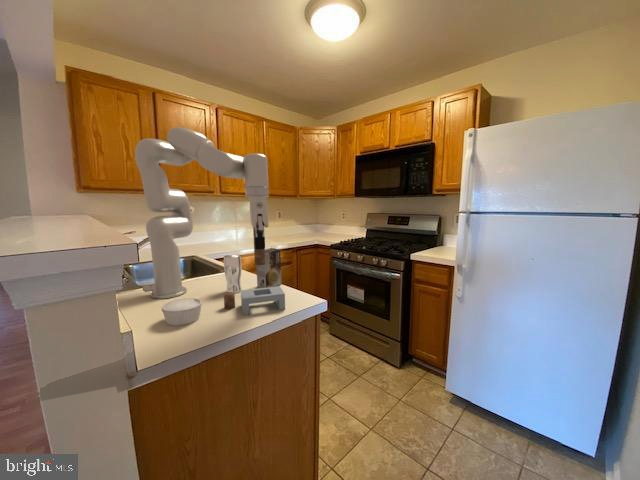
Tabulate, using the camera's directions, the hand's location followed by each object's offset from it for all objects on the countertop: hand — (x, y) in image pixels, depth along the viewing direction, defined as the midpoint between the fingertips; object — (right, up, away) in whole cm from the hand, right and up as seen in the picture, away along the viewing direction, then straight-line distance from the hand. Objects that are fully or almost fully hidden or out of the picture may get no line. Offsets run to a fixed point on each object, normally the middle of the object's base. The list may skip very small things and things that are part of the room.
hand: (259, 247), depth 91 cm
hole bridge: (0, -21, +3) cm, 21 cm away
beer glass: (-15, -19, +21) cm, 32 cm away
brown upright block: (-11, -21, +3) cm, 24 cm away
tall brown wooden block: (0, -6, +1) cm, 6 cm away
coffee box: (-2, -18, +28) cm, 33 cm away
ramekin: (-23, -23, -6) cm, 33 cm away
